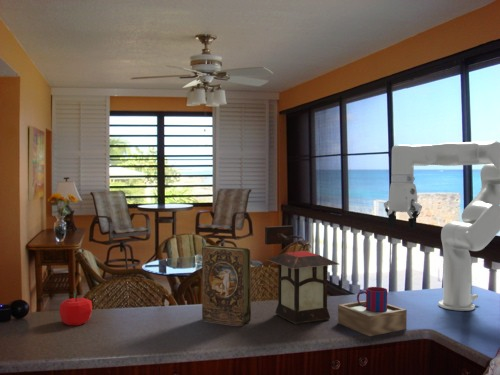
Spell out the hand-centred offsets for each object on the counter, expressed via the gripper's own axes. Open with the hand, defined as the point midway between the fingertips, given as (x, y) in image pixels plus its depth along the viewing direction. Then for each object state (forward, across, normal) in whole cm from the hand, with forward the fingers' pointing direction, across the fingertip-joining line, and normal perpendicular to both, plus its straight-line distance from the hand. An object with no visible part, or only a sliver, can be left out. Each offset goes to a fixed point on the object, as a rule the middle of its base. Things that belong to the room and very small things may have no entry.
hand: (401, 228), depth 183 cm
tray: (+30, -7, +20) cm, 37 cm away
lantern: (+31, +16, +34) cm, 48 cm away
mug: (+25, -6, +20) cm, 33 cm away
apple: (+31, +43, +104) cm, 117 cm away
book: (+31, +20, +60) cm, 70 cm away
